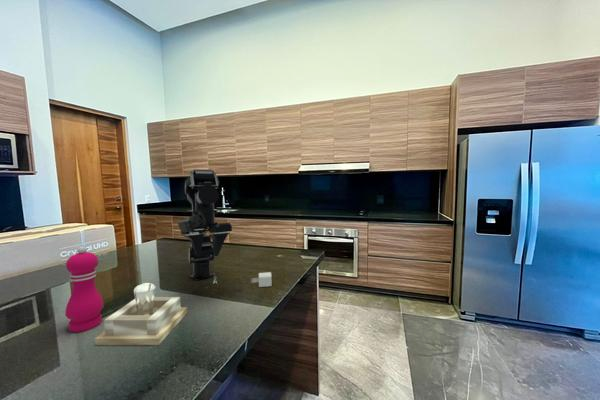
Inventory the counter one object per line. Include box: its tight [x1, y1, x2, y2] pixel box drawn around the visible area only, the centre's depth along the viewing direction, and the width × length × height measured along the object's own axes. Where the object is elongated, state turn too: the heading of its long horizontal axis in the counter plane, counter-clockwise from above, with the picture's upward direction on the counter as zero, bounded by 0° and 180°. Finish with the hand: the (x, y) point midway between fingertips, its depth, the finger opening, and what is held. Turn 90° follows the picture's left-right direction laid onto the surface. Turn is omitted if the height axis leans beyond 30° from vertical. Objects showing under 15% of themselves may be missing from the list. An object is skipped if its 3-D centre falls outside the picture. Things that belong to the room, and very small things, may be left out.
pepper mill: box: [64, 246, 104, 333], centre depth 62 cm, size 7×7×20 cm
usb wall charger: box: [250, 271, 273, 288], centre depth 87 cm, size 4×7×4 cm, turn 100°
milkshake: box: [133, 282, 156, 315], centre depth 62 cm, size 4×5×10 cm
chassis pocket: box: [94, 296, 188, 346], centre depth 62 cm, size 14×14×5 cm
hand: (207, 256), depth 80 cm, fingers open, 9 cm apart
